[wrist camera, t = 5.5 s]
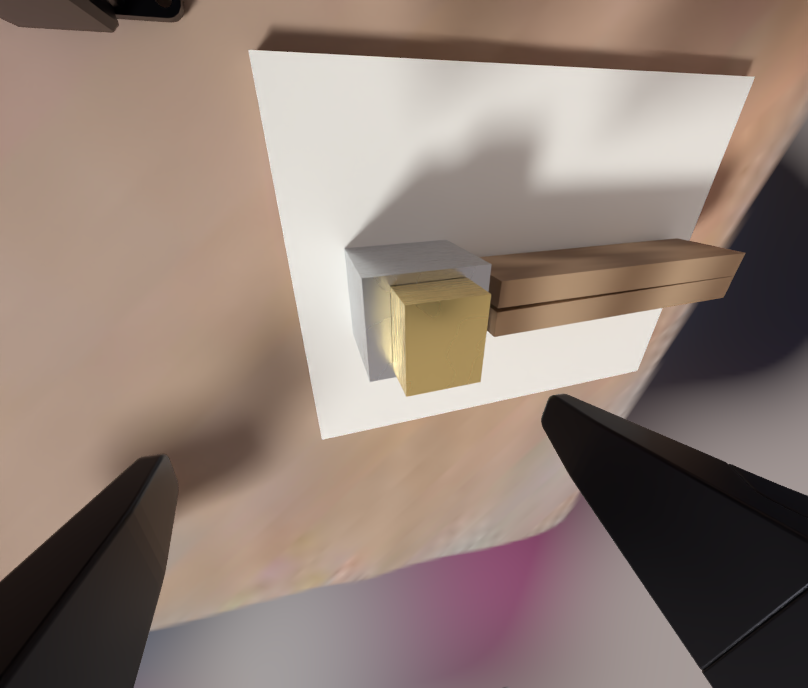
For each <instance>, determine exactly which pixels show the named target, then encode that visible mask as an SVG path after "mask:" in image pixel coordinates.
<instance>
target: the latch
mask: <svg viewBox="0 0 808 688" xmlns="http://www.w3.org/2000/svg"><path fill="white" fill-rule="evenodd" d="M390 290H391V317H392V343H393V370H394V372H395V375H396V377H397V379H398V381H399V383H400V385H401V387H402V389H403V391H404V393H405V395H406V397H408V396H413V395H418V394H423V393H428V392H433V391H438V390H443V389H448V388H453V387H458V386H463V385H468V384H473V383H478V382H481V375H482V367H483V358H484V350H485V342H486V334H487V325H488V317H489V309H490V301H491V294H490V293H489V292H487V291H486V290H485V289H483V288H482V287H480V286H479V285H477V284H476V283H474V282H473V281H472V280H470V279H469V278H460V279H451V280H442V281H434V282H425V283H416V284H408V285H399V286H391V287H390Z"/></svg>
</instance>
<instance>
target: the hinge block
mask: <svg viewBox="0 0 808 688" xmlns="http://www.w3.org/2000/svg"><path fill="white" fill-rule="evenodd" d="M344 251H345V261H346V270H347V280H348V290H349V299H350V309H351V319H352V329H353V335H354V338H355V341H356V344H357V347H358V350H359V352H360V355H361V358H362V361H363V364H364V367H365V369H366V372H367V375H368V378H369V381H370V382H373V381H378V380H384V379H389V378H394V377H396V375H395V372H394V370H393V343H392V317H391V290H390V287H391V286H399V285H408V284H416V283H425V282H434V281H442V280H451V279H460V278H469V279H470V280H472V281H473V282H474V283H476V284H477V285H479V286H480V287H482V288H483V289H485V290H486V291H487V292H488V291H489V283H490V274H491V265H492V264H490V263H488V262H487V261H485V260H483V259H481V258H479V257H477V256H476V255H474V254H472V253H470V252H468V251H466V250H465V249H463V248H461V247H459V246H457V245H455V244H453V243H452V242H450V241H448V240H437V241H425V242H414V243H402V244H390V245H378V246H367V247H355V248H344Z"/></svg>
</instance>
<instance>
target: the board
mask: <svg viewBox="0 0 808 688" xmlns="http://www.w3.org/2000/svg"><path fill="white" fill-rule="evenodd" d="M249 56H250V61H251V66H252V72H253V77H254V82H255V88H256V93H257V98H258V103H259V109H260V114H261V119H262V125H263V130H264V135H265V140H266V146H267V151H268V156H269V162H270V167H271V172H272V178H273V183H274V188H275V193H276V199H277V204H278V209H279V215H280V220H281V225H282V230H283V236H284V241H285V246H286V252H287V257H288V262H289V267H290V273H291V278H292V283H293V289H294V294H295V299H296V305H297V310H298V315H299V320H300V326H301V331H302V336H303V342H304V347H305V352H306V357H307V363H308V368H309V373H310V379H311V384H312V389H313V394H314V400H315V405H316V410H317V416H318V421H319V426H320V432H321V437H322V440H323V439H327V438H332V437H337V436H341V435H346V434H350V433H355V432H359V431H364V430H369V429H373V428H378V427H382V426H387V425H392V424H396V423H401V422H405V421H410V420H414V419H419V418H424V417H428V416H433V415H437V414H442V413H446V412H451V411H456V410H460V409H465V408H469V407H474V406H478V405H483V404H488V403H492V402H497V401H501V400H506V399H511V398H515V397H520V396H524V395H529V394H533V393H538V392H543V391H547V390H552V389H556V388H561V387H565V386H570V385H575V384H579V383H584V382H588V381H593V380H597V379H602V378H607V377H611V376H616V375H620V374H625V373H630V372H634V371H637V370H638V368H639V365H640V363H641V360H642V358H643V355H644V353H645V350H646V348H647V345H648V343H649V340H650V338H651V335H652V333H653V330H654V328H655V325H656V323H657V320H658V318H659V315H660V313H661V310H662V308H659V309H654V310H648V311H642V312H636V313H631V314H625V315H619V316H613V317H607V318H602V319H596V320H590V321H584V322H579V323H573V324H567V325H561V326H556V327H550V328H544V329H538V330H532V331H527V332H521V333H515V334H509V335H504V336H498V337H494V336H492V335H491V334H490V333H489V332H488V331H487V334H486V342H485V350H484V358H483V367H482V375H481V382H478V383H473V384H468V385H463V386H458V387H453V388H448V389H443V390H438V391H433V392H428V393H423V394H418V395H413V396H408V397H406V395H405V393H404V391H403V389H402V387H401V385H400V383H399V381H398V379H397V377H394V378H389V379H384V380H378V381H373V382H370V381H369V378H368V375H367V372H366V369H365V367H364V364H363V361H362V358H361V355H360V352H359V350H358V347H357V344H356V341H355V338H354V335H353V329H352V319H351V309H350V299H349V290H348V280H347V270H346V261H345V251H344V248H355V247H367V246H378V245H390V244H402V243H414V242H425V241H437V240H448V241H450V242H452V243H453V244H455V245H457V246H459V247H461V248H463V249H465V250H466V251H468V252H470V253H472V254H474V255H476V256H477V257H486V256H496V255H507V254H517V253H528V252H538V251H549V250H560V249H570V248H581V247H591V246H602V245H612V244H623V243H633V242H644V241H654V240H665V239H675V238H678V239H683V240H687V241H689V240H690V238H691V235H692V233H693V230H694V228H695V225H696V223H697V220H698V218H699V215H700V213H701V210H702V208H703V205H704V203H705V200H706V198H707V195H708V193H709V190H710V188H711V185H712V183H713V180H714V178H715V175H716V173H717V170H718V168H719V165H720V163H721V160H722V158H723V155H724V153H725V150H726V148H727V145H728V143H729V140H730V138H731V135H732V133H733V130H734V128H735V125H736V123H737V120H738V118H739V115H740V113H741V110H742V108H743V105H744V103H745V100H746V98H747V95H748V93H749V90H750V88H751V85H752V83H753V80H754V78H755V77H749V76H731V75H712V74H693V73H674V72H656V71H637V70H618V69H599V68H581V67H562V66H543V65H524V64H506V63H487V62H468V61H449V60H431V59H412V58H393V57H374V56H356V55H337V54H318V53H299V52H281V51H262V50H249Z"/></svg>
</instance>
